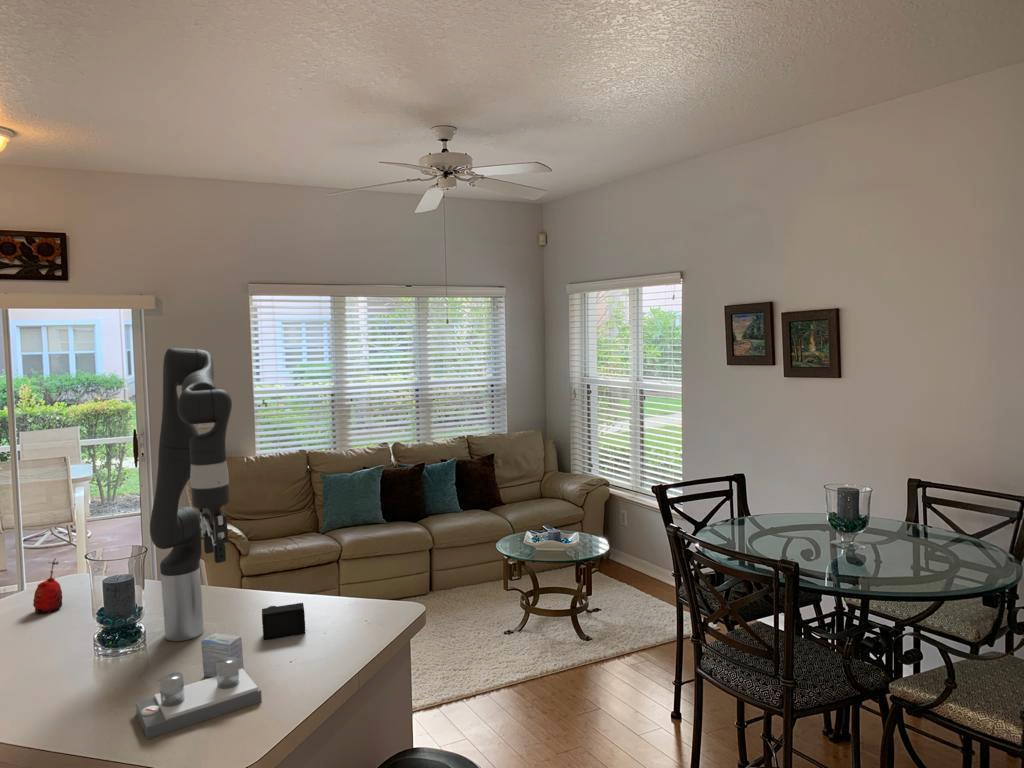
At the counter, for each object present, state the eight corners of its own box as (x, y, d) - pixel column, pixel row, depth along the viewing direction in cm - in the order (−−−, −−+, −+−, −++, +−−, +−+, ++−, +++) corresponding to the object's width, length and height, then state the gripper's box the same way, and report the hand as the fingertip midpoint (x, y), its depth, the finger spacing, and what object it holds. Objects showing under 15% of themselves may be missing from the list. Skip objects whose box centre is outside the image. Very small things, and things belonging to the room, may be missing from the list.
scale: (136, 713, 150) (135, 699, 150) (245, 680, 163) (244, 666, 163) (147, 739, 140) (146, 723, 140) (261, 701, 153) (260, 687, 153)
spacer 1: (161, 698, 150) (159, 675, 149) (185, 693, 151) (183, 670, 151) (160, 708, 146) (158, 685, 145) (184, 703, 147) (182, 680, 147)
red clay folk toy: (43, 605, 213) (39, 555, 212) (68, 603, 214) (64, 554, 212) (29, 616, 205) (24, 564, 204) (55, 614, 206) (51, 562, 205)
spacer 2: (215, 683, 156) (213, 660, 155) (236, 676, 158) (234, 654, 158) (220, 691, 152) (219, 668, 152) (242, 684, 155) (240, 661, 154)
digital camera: (304, 626, 192) (303, 600, 191) (305, 634, 187) (304, 607, 186) (263, 632, 189) (261, 606, 188) (263, 641, 184) (261, 614, 183)
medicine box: (244, 672, 167) (242, 635, 166) (231, 681, 163) (228, 644, 162) (217, 668, 169) (214, 632, 169) (203, 676, 165) (200, 640, 165)
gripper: (237, 485, 151) (242, 561, 152) (219, 475, 163) (224, 546, 164) (199, 491, 147) (204, 569, 148) (183, 480, 158) (188, 553, 159)
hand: (214, 557), depth 156 cm, fingers open, 8 cm apart
